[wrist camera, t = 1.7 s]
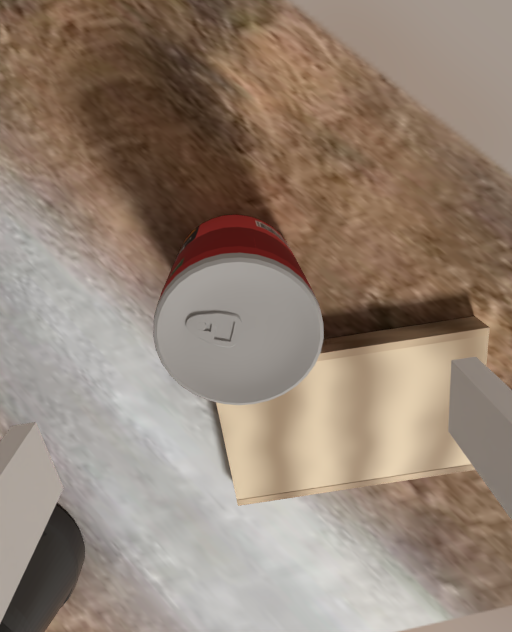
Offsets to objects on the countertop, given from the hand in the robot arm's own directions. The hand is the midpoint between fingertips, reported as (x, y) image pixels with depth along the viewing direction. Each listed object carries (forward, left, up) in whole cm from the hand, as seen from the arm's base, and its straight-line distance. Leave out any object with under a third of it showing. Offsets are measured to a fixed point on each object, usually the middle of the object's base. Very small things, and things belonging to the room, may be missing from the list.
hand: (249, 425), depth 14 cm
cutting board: (+7, -13, -18) cm, 23 cm away
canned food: (0, 0, -18) cm, 18 cm away
